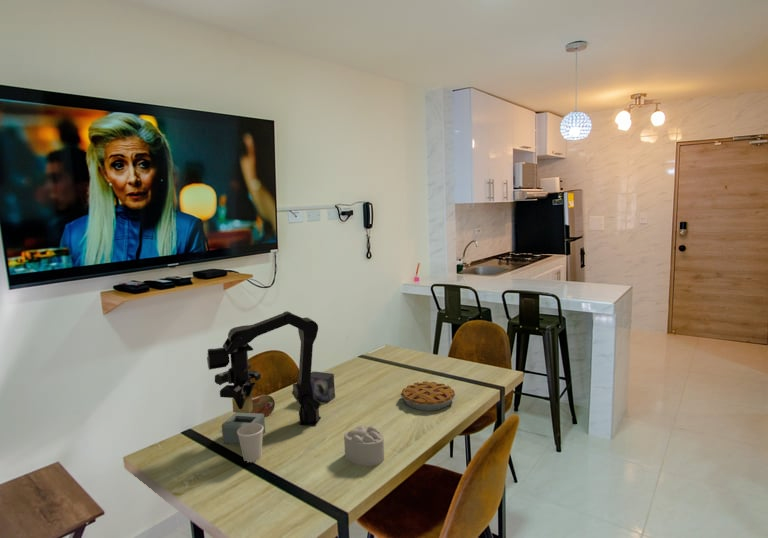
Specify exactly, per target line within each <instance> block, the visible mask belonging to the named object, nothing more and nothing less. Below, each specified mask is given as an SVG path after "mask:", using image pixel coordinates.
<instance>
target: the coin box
mask: <svg viewBox="0 0 768 538" xmlns="http://www.w3.org/2000/svg"><path fill="white" fill-rule="evenodd" d="M265 421H266V420H265V417H264V414H259V413H237V412H234V413H233V414H232V415H231V416H229V418H228V419H226V420H225V421H224V422H223V423H222V424H221V431H222V443H223V445H232V444H233V446H240V441H239V437H238V434H237V430H238V429H239V428H240V427H242V426H244V425H247V424H252V423H257V424H261V425H262V426H263V427H264V429H263V435H264V434H265V433H266V424H265Z"/></svg>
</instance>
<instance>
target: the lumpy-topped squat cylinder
mask: <svg viewBox="0 0 768 538" xmlns="http://www.w3.org/2000/svg"><path fill="white" fill-rule="evenodd" d="M343 440H344V444H343V445H344V457H345V459H347V460H348V461H350V462H352V463H353V464H356V465H359V466H365V467H367V466H368V467H370V466H371V467H372V466H373V467H374V466H378V465H380V464H383V462H385V445H384V443H385V441H384V436H383V434H382V432H381V431H379V430H378V429H377V427H376V426H374V425H370V426H366V425H363V426H362V425H358V426H356V427H355V428H352V429H350V430H349V431H347V432H345V433H344V435H343Z"/></svg>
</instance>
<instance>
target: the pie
mask: <svg viewBox="0 0 768 538" xmlns="http://www.w3.org/2000/svg"><path fill="white" fill-rule="evenodd" d="M400 397H401V398H402V399H403V401H404V402H405V404H406V405H408V407H410V408H413V409H416V410H420V411H424V412H425V411H426V412H427V411H428V412H431V411H437V410H442V409H444V408H446V407H448V406H449V405H451V403H452V401H453V399H455V397H456V392H455V389H452V387H451V386H450V385H446V384H445V383H437V382H436V381H432V382H428V381H422V382H414V383H413V384H408V385H407V386H406V387H403V388H402V391H401V393H400Z"/></svg>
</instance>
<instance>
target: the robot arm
mask: <svg viewBox="0 0 768 538" xmlns="http://www.w3.org/2000/svg"><path fill="white" fill-rule="evenodd" d="M287 325H290V326H293V327H295V328H297V329H298V330H297V332H298V336H299V340H300V352H299V369H298V379H297V381H296V383H295V382H294V383H292V392H291V394H292V395H293V397H294V399H295V400H296V402H297V403H298V404H299V405H300V407H299V410H298V417H299V423H298V425H302V426H316V425H317V424H318V423H319V421H320V420H321V418H322V417H321V416H320V409H319V408H320V405H321V403H320V401H317V400H316V398H315V397H314V396H313V389H312V385H311V372H312V363H313V362H312V361H313V351H314V350H313V349H314V342H315V341H316V339H317V335H318V332H319V325H318V323H317V322H316V321H314V320H313V319H312V318H310V317H301V316H299V315H296V314H294V313H292V312H290V311H288V310H287V311H284V312H282V313H279V314H277V315H275V316H273V317H269V318H267V319H264V320H261V321H260V322H259V321H258V322H256V323H252V324H247V325H240V326H236V327H233V328H230V330H229V332H228V334H227V338H226V340H225V342H224V343H223V344H222V347H218V348H208V349H207V357H206V360H207V368H208V370H209V371H210V370H216V369H221V368H226V367H228V366H229V364H230V368H228V370H226V371H224V372H220V373H216V374H215V375H214V382H215V384H216V385H218V386H221V385H223V384H226V383H228V384H226V385H224V387H222V388H221V389H220V390H219V397H220V398H227V399H228V398H229V399H232V398H234V399H235V401H236V404H237V406H238V408H239V409H242V407H243V404H244V399H245V396H252V395H251V394H252V392H253V390H254V387H255V385H256V382H257V381H259V380H261V377H262V375H261V372H260V371H259V370H250V369H251V368H252V364H249V354H248V352H250V351H251V352H253V351H254V348H253V347H252V346H251V345H250V344H249V343H251V342H252V341H253V340H254V339H255V338H257V337H259V336H262V335H264V334H267V333H269V332H271V331H275V330H276V329H279V328H282V327H285V326H287ZM252 379H254V380H255V381H256V382H253V381H252Z"/></svg>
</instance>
